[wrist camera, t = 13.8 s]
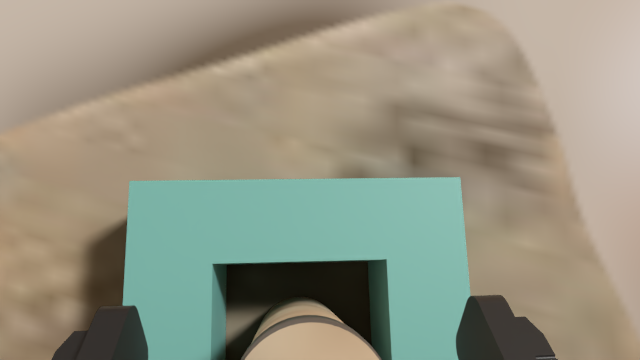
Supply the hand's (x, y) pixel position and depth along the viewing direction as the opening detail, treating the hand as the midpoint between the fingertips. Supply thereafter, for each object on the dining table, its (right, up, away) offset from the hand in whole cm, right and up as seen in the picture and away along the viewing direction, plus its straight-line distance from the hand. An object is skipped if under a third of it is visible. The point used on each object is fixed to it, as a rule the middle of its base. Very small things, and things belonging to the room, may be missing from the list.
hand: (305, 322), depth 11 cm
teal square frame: (0, -3, +6) cm, 7 cm away
